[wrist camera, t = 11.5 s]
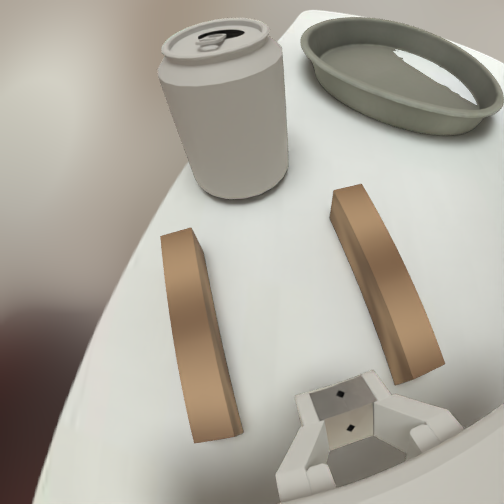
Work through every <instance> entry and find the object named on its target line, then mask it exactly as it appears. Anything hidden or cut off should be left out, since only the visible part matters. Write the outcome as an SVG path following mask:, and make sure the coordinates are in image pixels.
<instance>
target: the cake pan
mask: <svg viewBox="0 0 504 504" xmlns="http://www.w3.org/2000/svg"><path fill="white" fill-rule="evenodd" d="M300 43H301V47H302V49H303V51H304V53H305V54H306V56H307V57H308V58H309V59H310V60H311V61H312V62H313V66H314V70H315V74H316V77H317V79H318V81H319V82H320V84H321V85H322V86H323V88H324V89H325V90H326V91H327V92H328V93H329V94H331V95H332V96H333V97H334V98H336V99H337V100H339V101H340V102H341V103H343V104H345V105H347V106H348V107H350V108H352V109H354V110H356V111H358V112H359V113H362V114H364V115H366V116H368V117H370V118H373V119H375V120H378V121H380V122H383V123H386V124H389V125H392V126H395V127H398V128H402V129H405V130H409V131H413V132H418V133H423V134H430V135H443V136H449V135H459V134H464V133H467V132H469V131H471V130H473V129H474V128H475V127H476V126H477V125H478V124H479V123H480V122H481V120H482V119H483V118H484V117H487V116H491V115H493V114H495V113H497V112H498V111H499V110H500V109H501V108H502V106H503V103H504V97H503V92H502V89H501V87H500V85H499V84H498V82H497V80H496V79H495V78H494V76H493V75H492V74H491V73H490V72H489V70H488V69H487V68H486V67H485V66H484V65H482V64H481V63H480V62H479V61H478V60H477V59H475V58H474V57H473V56H471V55H470V54H469V53H467V52H466V51H464V50H463V49H461V48H460V47H458V46H456V45H455V44H453V43H451V42H449V41H447V40H445V39H443V38H441V37H439V36H437V35H435V34H432V33H429V32H427V31H425V30H422V29H419V28H416V27H413V26H410V25H406V24H403V23H398V22H394V21H389V20H383V19H376V18H363V17H348V18H337V19H331V20H327V21H323V22H320V23H317V24H315V25H313V26H311V27H310V28H308V29H307V30H306V31H305V32H304V33H303V35H302V37H301V42H300ZM395 49H398V50H402V51H406V52H409V53H412V54H415V55H418V56H420V57H422V58H425V59H427V60H429V61H431V62H433V63H435V64H437V65H439V66H440V67H442V68H444V69H445V70H447V71H448V72H450V73H451V74H452V75H454V76H455V77H456V78H457V79H459V80H460V81H461V82H462V83H463V84H464V85H465V86H466V87H467V88H468V90H469V91H470V92H471V94H472V95H473V97H474V98H475V100H476V103H477V105H475V104H473V103H471V102H470V101H468V100H466V99H464V98H462V97H461V96H460V95H459V94H457V93H455V92H452V91H451V90H450V89H449V88H448V87H446V86H444V85H441V84H439V83H437V82H435V81H434V80H432V79H431V78H429V77H428V76H426V75H425V74H423V73H421V72H420V71H418V70H417V69H415V68H414V67H412V66H410V65H409V64H407V63H405V62H404V60H402V59H403V58H400V57H398V56H397V55H396V54H395V53H394V52H393V51H396V50H395Z"/></svg>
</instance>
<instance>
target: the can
mask: <svg viewBox="0 0 504 504" xmlns="http://www.w3.org/2000/svg"><path fill="white" fill-rule="evenodd" d="M162 54H163V55H165V57H164V59H163V61H162V62H161V64H160V66H159V68H158V78H159V80H160V83H161V86H162V89H163V92H164V95H165V97H166V100H167V103H168V105H169V109H170V112H171V114H172V117H173V120H174V123H175V125H176V128H177V131H178V134H179V137H180V139H181V142H182V144H183V147H184V150H185V153H186V155H187V158H188V161H189V164H190V166H191V169H192V172H193V174H194V177H195V180H196V181H197V183H198V184H199V185H200V187H201V188H202V189H203V190H205V191H206V192H208V193H210V194H211V195H213V196H217V197H221V198H225V199H245V198H249V197H252V196H256V195H260V194H262V193H264V192H265V191H267V190H269V189H271V188H273V187H274V186H275V185H276V184H277V183H278V182H279V181H280V180H281V179H282V178H283V177H284V175H285V173H286V170H287V168H288V138H287V118H286V100H285V84H284V69H283V55H282V47H281V46H280V45H279V44H278V43H277V42H276V41H275V40H274V39H273V38H271V37H270V36H269V27H268V26H267V25H266V24H265V23H263V22H261V21H258V20H255V19H248V18H226V19H217V20H212V21H208V22H203V23H200V24H196V25H193V26H191V27H188V28H185V29H184V30H181V31H180V32H177V33H175V34H174V35H173V36H171V37H170V38H169V39H167V40H166V42H165V43H164V44H163V46H162Z"/></svg>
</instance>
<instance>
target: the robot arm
mask: <svg viewBox="0 0 504 504" xmlns="http://www.w3.org/2000/svg"><path fill="white" fill-rule="evenodd" d="M294 397H295V401H296V405H297V409H298V413H299V417H300V421H301V425H302V427H300V428H299V430H298V432H297V434H296V436H295V438H294V440H293V442H292V444H291V446H290V448H289V450H288V452H287V454H286V456H285V458H284V460H283V461H282V463H281V465H280V467H279V469H278V471H277V473H276V474H275V476H276V482H277V487H278V493H279V498H280V503H278V504H504V403H503V404H502V405H501V406H499V407H498V408H496V409H495V410H494V411H492V412H491V413H489V414H488V415H486V416H485V417H483V418H482V419H480V420H479V421H477V422H476V423H474V424H473V425H471V426H470V427H468V428H466V429H464V428H463V427H462V426H461V425H460V423H459V422H458V421H457V420H456V419H455V417H454V416H453V415H452V414H451V413H450V411H449V410H447V409H444V408H440V407H437V406H433V405H430V404H427V403H423V402H420V401H417V400H414V399H410V398H407V397H404V396H401V395H398V394H393V395H391V393H390V392H389V391H388V389H387V388H386V386H385V385H384V384H383V382H382V381H381V379H380V378H379V377H378V375H377V374H376V373H375V371H374V370H370V371H368V372H365V373H363V374H360V375H358V376H355V377H352V378H350V379H347V380H344V381H341V382H338V383H335V384H333V385H329V386H326V387H323V388H319V389H316V390H312V391H309V392H306V393H302V394H298V395H295V396H294ZM371 436H375V437H376V438H378V439H380V440H382V441H384V442H386V443H387V444H389V445H391V446H393V447H395V448H397V449H399V450H401V451H403V452H404V453H406V460H405V462H403V463H401V464H398V465H396V466H394V467H392V468H389V469H387V470H385V471H382V472H380V473H377V474H375V475H372V476H370V477H367V478H364V479H362V480H359V481H356V482H353V483H350V484H347V485H345V486H341V487H338V488H336V485H335V482H334V480H333V477H332V474H331V472H330V469H329V466H328V465H326V463H327V460H328V457H329V454H330V451H332V450H334V449H337V448H340V447H343V446H346V445H348V444H351V443H354V442H357V441H360V440H362V439H365V438H368V437H371Z"/></svg>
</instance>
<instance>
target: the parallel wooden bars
mask: <svg viewBox="0 0 504 504" xmlns="http://www.w3.org/2000/svg"><path fill="white" fill-rule="evenodd" d="M330 220H331V222H332V224H333V227H334V229H335V231H336V233H337V236H338V238H339V240H340V242H341V245H342V247H343V249H344V251H345V254H346V256H347V258H348V261H349V263H350V266H351V268H352V270H353V273H354V275H355V278H356V280H357V282H358V285H359V287H360V290H361V292H362V295H363V297H364V300H365V302H366V305H367V308H368V310H369V313H370V315H371V318H372V321H373V323H374V326H375V329H376V331H377V334H378V337H379V340H380V342H381V345H382V348H383V351H384V354H385V357H386V360H387V362H388V365H389V368H390V371H391V374H392V377H393V380H394V384H395V385H398V384H401V383H404V382H407V381H410V380H413V379H415V378H417V377H420V376H422V375H424V374H426V373H428V372H430V371H432V370H434V369H436V368H438V367H440V366H442V365H444V364H445V362H444V359H443V356H442V354H441V351H440V348H439V345H438V343H437V340H436V337H435V335H434V332H433V329H432V327H431V324H430V322H429V319H428V317H427V314H426V312H425V310H424V307H423V305H422V302H421V300H420V298H419V295H418V293H417V291H416V289H415V286H414V284H413V282H412V280H411V277H410V275H409V273H408V271H407V269H406V267H405V265H404V262H403V260H402V258H401V256H400V254H399V252H398V250H397V248H396V246H395V244H394V242H393V240H392V238H391V236H390V234H389V232H388V230H387V228H386V227H385V225H384V223H383V221H382V219H381V217H380V215H379V213H378V212H377V210H376V208H375V206H374V204H373V203H372V201H371V199H370V197H369V195H368V194H367V192H366V190H365V188H364V187H363V185H362V184H359V185H354V186H350V187H346V188H341V189H337V190H334V191H333V198H332V205H331V212H330ZM160 237H161V248H162V257H163V267H164V275H165V284H166V292H167V299H168V307H169V314H170V321H171V327H172V334H173V340H174V346H175V352H176V358H177V364H178V369H179V374H180V380H181V385H182V390H183V395H184V400H185V405H186V409H187V414H188V419H189V423H190V428H191V432H192V436H193V440H194V443H200V442H207V441H213V440H219V439H225V438H230V437H235V436H237V435H239V434H242V433H243V429H242V425H241V421H240V417H239V413H238V409H237V405H236V401H235V397H234V393H233V389H232V384H231V380H230V376H229V372H228V367H227V363H226V359H225V354H224V350H223V345H222V341H221V336H220V332H219V327H218V322H217V318H216V313H215V308H214V303H213V299H212V294H211V289H210V284H209V279H208V273H207V268H206V263H205V258H204V253H203V250H202V248H201V246H200V244H199V242H198V240H197V238H196V236H195V234H194V232H193V230H192V228H187V229H184V230H180V231H177V232H173V233H170V234H167V235H163V236H160Z"/></svg>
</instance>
